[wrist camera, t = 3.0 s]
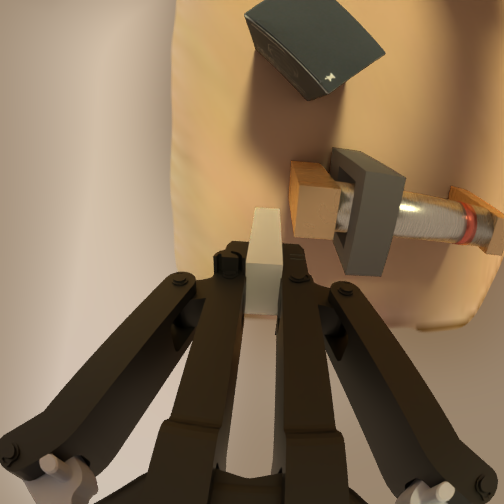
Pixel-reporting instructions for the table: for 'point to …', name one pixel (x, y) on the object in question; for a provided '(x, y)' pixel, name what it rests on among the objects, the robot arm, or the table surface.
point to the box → (311, 43)
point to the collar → (367, 211)
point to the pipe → (409, 218)
